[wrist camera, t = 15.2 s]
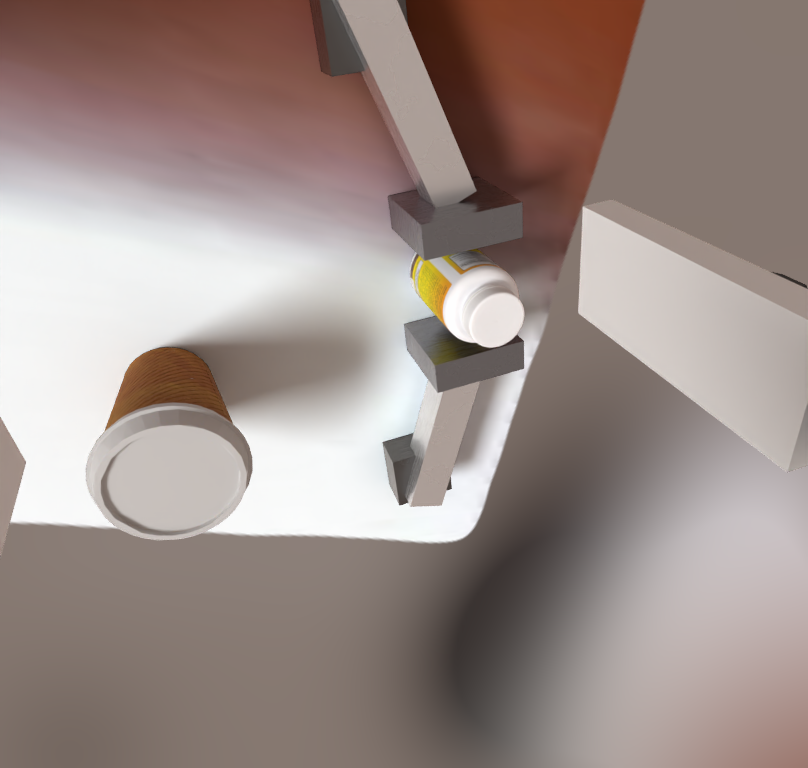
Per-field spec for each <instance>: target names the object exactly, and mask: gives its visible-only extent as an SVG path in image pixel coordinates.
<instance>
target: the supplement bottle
mask: <svg viewBox="0 0 808 768" xmlns="http://www.w3.org/2000/svg"><path fill="white" fill-rule="evenodd" d="M409 274H410V281H411V284H412V287H413V289H414V290H415V292H416V293H417V294H418V296H419V297H420V298H421V299H422V300H423V301H424V302H425V303H426V305H427V306H428V307H429V308H430V309H431V310H432V312H433V313H434V314H435V315H436V316H437V317H438V318H439V319H440V321H441V322H442V323H443V324H444V325H445V326H446V327H447V329H448V330H449V331H450V332H451V333H452V334H453V335H454V336H456V337H457V338H458V339H460V340H463V341H466V342H470V343H478V344H479V345H481V346H484V347H490V348H492V347H499V346H502V345H504V344H506V343H507V342H509V341H510V340H512V339H513V338H514V337H515V336H516V335H517V333H518V332H519V331H520V329H521V327H522V325H523V322H524V316H525V313H524V307H523V304H522V302H521V301H520V299H519V291H518V287H517V285H516V283H515V281H514V279H513V278H512V277H511V276H510V275H509V274H508V273H507V272H506V271H505V270H504V269H502V268H501V267H500V266H498V265H497V264H496V263H495V262H493V261H492V260H491V259H489V258H488V257H487V256H486V255H484V254H483V253H482V252H481V251H479V250H478V249H472V250H468V251H464V252H460V253H456V254H451V255H447V256H443V257H439V258H435V259H430V260H426V261H424V260H423V259H422V258H421V257H420V256H419V255H418V254H417V253H415V254H414V256H413V259H412V261H411V265H410V271H409Z"/></svg>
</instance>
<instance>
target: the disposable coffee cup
mask: <svg viewBox="0 0 808 768" xmlns="http://www.w3.org/2000/svg"><path fill="white" fill-rule="evenodd" d="M251 474H252V455H251V451H250V448H249V445H248V443H247V441H246V439H245V437H244V436H243V435H242V433H241V432H240V431H239V430H238V429H237V428H236V427H235V426H234V425H233V423H232V420H231V418H230V416H229V414H228V411H227V409H226V406H225V404H224V402H223V400H222V397H221V395H220V393H219V390H218V388H217V386H216V383H215V381H214V378H213V376H212V374H211V371H210V369H209V368H208V366H207V364H206V363H205V362H204V361H203V360H202V359H201V358H199V357H198V356H196V355H195V354H193V353H191V352H189V351H187V350H183V349H179V348H168V347H166V348H158V349H154V350H150V351H148V352H146V353H144V354H142V355H140V356H139V357H138V358H136V359H135V360H134V361H133V362H132V363H131V364H130V366H129V367H128V369H127V371H126V373H125V376H124V379H123V382H122V384H121V387H120V390H119V393H118V396H117V398H116V401H115V404H114V407H113V410H112V412H111V415H110V418H109V420H108V423H107V426H106V429H105V432H104V433H103V434H102V435H101V436H100V437H99V439H98V440H97V441H96V443H95V445H94V447H93V448H92V450H91V452H90V454H89V457H88V461H87V465H86V482H87V486H88V490H89V493H90V494H91V496H92V498H93V500H94V502H95V503H96V504H97V506H98V508H99V509H100V511H101V512H102V514H103V515H104V517H105V518H106V519H108V520H109V521H110V522H111V523H112V524H113V525H114V526H116V527H117V528H119V529H120V530H122V531H125V532H127V533H129V534H131V535H134V536H137V537H141V538H146V539H152V540H172V539H183V538H187V537H192V536H195V535H198V534H200V533H203V532H206V531H207V530H209V529H211V528H213V527H215V526H216V525H218V524H220V523H221V522H222V521H223V520H225V519H226V518H227V517H228V516H229V515H230V514H231V513H232V512H233V511H234V510H235V509H236V507H237V506H238V504H239V503H240V501H241V499H242V497H243V494H244V492H245V490H246V488H247V486H248V485H249V481H250V477H251Z"/></svg>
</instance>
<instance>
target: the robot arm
mask: <svg viewBox="0 0 808 768" xmlns="http://www.w3.org/2000/svg"><path fill="white" fill-rule="evenodd" d="M581 240H582V241H581V262H580V263H581V264H580V286H579V309H578V313H579V314H580V315H582V316H583V317H584V318H585V319H587V320H588V321H589V322H591V323H592V324H593V325H595V326H596V327H597V328H599V329H600V330H601V331H603V332H604V333H605V334H606V335H608V336H609V337H610V338H612V339H613V340H614V341H616V342H617V343H618V344H620V345H621V346H622V347H623V348H625V349H626V350H627V351H629V352H630V353H631V354H633V355H634V356H635V357H637V358H638V359H639V360H640V361H642V362H643V363H644V364H646V365H647V366H648V367H650V368H651V369H652V370H654V371H655V372H656V373H657V374H659V375H660V376H662V377H663V378H664V379H665V380H667V381H668V382H670V383H671V384H672V385H673V386H675V387H676V388H677V389H679V390H680V391H681V392H682V393H684V394H685V395H686V396H688V397H689V398H690V399H692V400H693V401H694V402H696V403H697V404H698V405H699V406H701V407H702V408H703V409H705V410H706V411H707V412H709V413H710V414H711V415H713V416H714V417H715V418H716V419H718V420H719V421H720V422H722V423H723V424H724V425H726V426H727V427H728V428H730V429H731V430H732V431H734V432H735V433H736V434H737V435H739V436H740V437H741V438H743V439H744V440H745V441H747V442H748V443H749V444H751V445H752V446H753V447H755V448H756V449H757V450H759V451H760V452H761V453H763V454H764V455H765V456H766V457H768V458H769V459H770V460H772V461H773V462H774V463H775V464H777V465H778V466H779V467H781V468H782V469H783V470H785V471H786V472H790V471H793V470H796V469H799V468H801V467H804V466H807V465H808V288H807V286H806V285H805V284H803V283H801V282H798V281H796V280H793V279H791V278H789V277H787V276H785V275H783V274H778V273H774V272H770V271H767V270H764V269H763V268H761V267H758V266H756V265H754V264H752V263H750V262H747V261H745V260H743V259H741V258H739V257H736V256H734V255H732V254H730V253H728V252H726V251H724V250H721V249H719V248H717V247H715V246H712V245H710V244H708V243H706V242H704V241H702V240H699V239H697V238H695V237H693V236H691V235H689V234H686V233H684V232H682V231H680V230H678V229H676V228H673V227H671V226H669V225H667V224H665V223H662V222H660V221H658V220H656V219H654V218H652V217H649V216H647V215H645V214H643V213H641V212H639V211H636V210H634V209H632V208H630V207H627V206H625V205H623V204H621V203H619V202H617V201H615V200H608V201H604V202H599V203H595V204H591V205H586V206H583V216H582V239H581ZM25 464H26V461H25V460H24V458H23V456H22V454H21V453H20V451H19V449H18V447H17V446H16V444H15V442H14V440H13V439H12V437H11V435H10V433H9V432H8V430H7V428H6V426H5V425H4V423H3V421H2V419H1V417H0V557H1V553H2V549H3V546H4V542H5V539H6V535H7V531H8V527H9V524H10V520H11V516H12V513H13V509H14V505H15V501H16V498H17V494H18V490H19V487H20V483H21V479H22V475H23V472H24V468H25Z"/></svg>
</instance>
